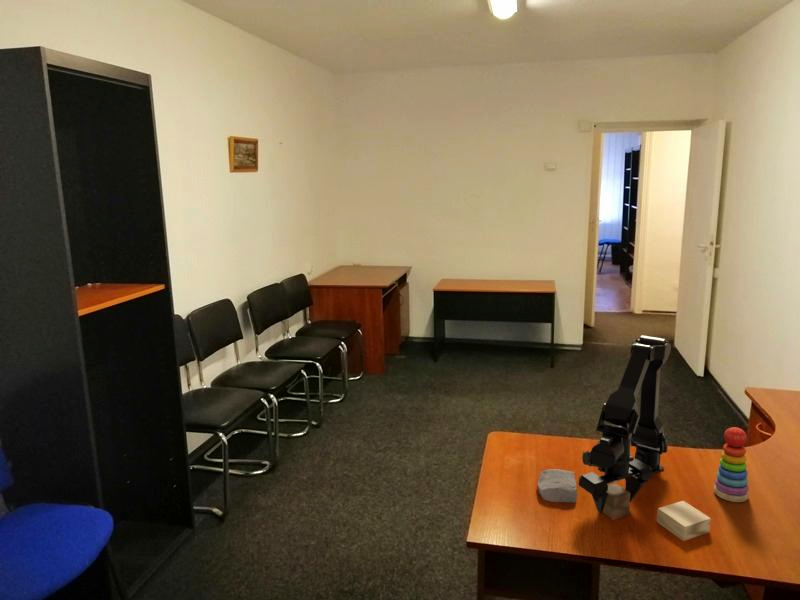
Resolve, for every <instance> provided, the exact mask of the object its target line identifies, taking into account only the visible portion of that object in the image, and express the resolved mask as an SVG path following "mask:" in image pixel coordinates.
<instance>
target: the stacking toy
mask: <svg viewBox="0 0 800 600" xmlns="http://www.w3.org/2000/svg"><path fill="white" fill-rule="evenodd" d="M723 438H724V441H725V444H724V445H723V448H722V450H723V451H722V452H721V458H720V459H719V466H718V471H717V473H716V479H715V480H714V483H715V484H714V486H713V491H714V494H715V495H716V496H717V497H719V498H721V499H723V500H725V501H728V502H731V503H743V502H746V501H747V500H748V499H749V496H750V495H749V494H750V493H749V485H748V484H749V478H748V474H749V473H748V470H747V467H748V466H747V463H746V461H747V457H746V456H747V455H746V453H747V449H746V447H745V445H746V443H747V441H748V435H747V434H746V432H745V431H744V430H743V429H742V428H740V427H738V426H737V427H736V426H733V427H729V428H727V429H726V430H725V432H724V433H723Z"/></svg>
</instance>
